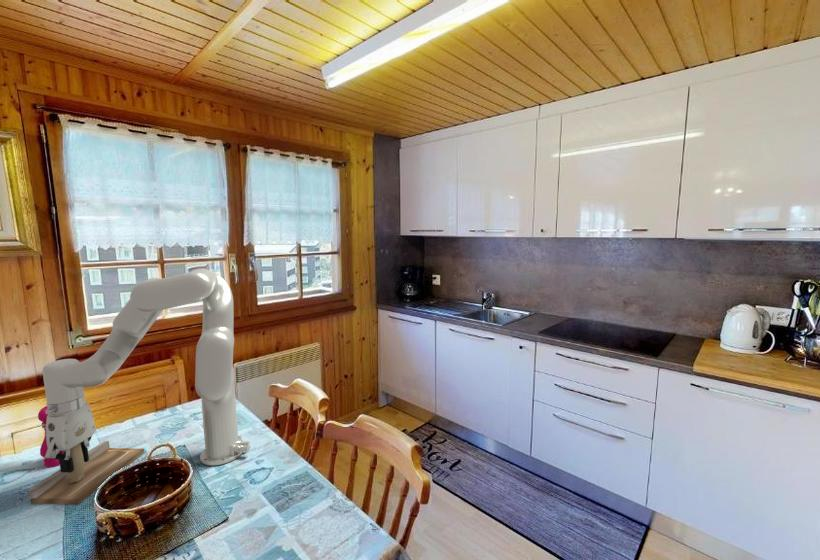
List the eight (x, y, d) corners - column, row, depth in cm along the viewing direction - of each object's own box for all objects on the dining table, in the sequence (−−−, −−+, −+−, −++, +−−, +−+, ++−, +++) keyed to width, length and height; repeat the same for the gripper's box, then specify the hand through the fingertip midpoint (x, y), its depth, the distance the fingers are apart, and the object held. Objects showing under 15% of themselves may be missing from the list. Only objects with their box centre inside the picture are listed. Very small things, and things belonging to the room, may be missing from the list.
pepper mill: (36, 465, 113) (28, 403, 111) (65, 452, 120) (58, 394, 117) (49, 470, 111) (41, 407, 108) (78, 457, 117) (71, 397, 115)
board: (144, 452, 119) (143, 441, 119) (78, 504, 96) (76, 490, 96) (105, 452, 120) (104, 440, 119) (30, 503, 97) (28, 489, 96)
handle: (77, 487, 101) (70, 435, 99) (58, 484, 102) (51, 433, 100) (95, 475, 106) (88, 426, 104) (76, 473, 107) (70, 424, 105)
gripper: (49, 419, 93) (59, 486, 95) (106, 391, 109) (113, 449, 111) (20, 419, 93) (31, 486, 95) (81, 391, 109) (89, 449, 112)
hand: (75, 465), depth 103 cm, fingers closed on handle, 3 cm apart
